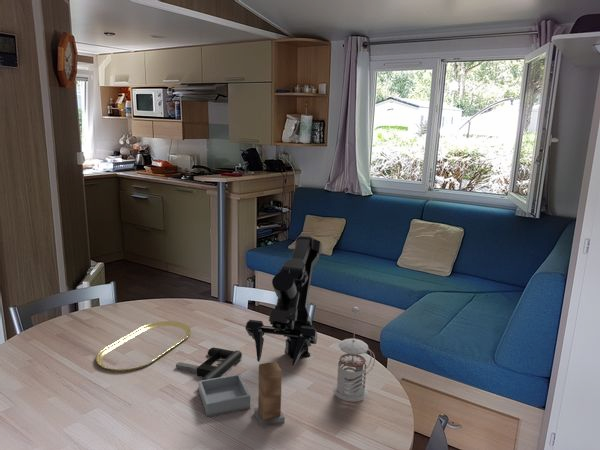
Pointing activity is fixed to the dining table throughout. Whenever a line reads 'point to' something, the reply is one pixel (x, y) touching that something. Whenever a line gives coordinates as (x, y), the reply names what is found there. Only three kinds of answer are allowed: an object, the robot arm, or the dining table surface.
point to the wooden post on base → (269, 395)
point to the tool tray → (224, 395)
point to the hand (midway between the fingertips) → (275, 363)
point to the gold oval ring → (134, 334)
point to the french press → (349, 381)
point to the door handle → (206, 368)
